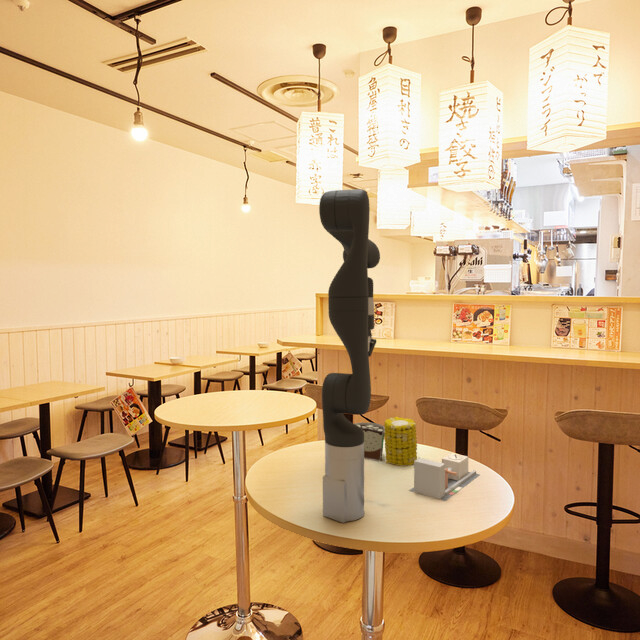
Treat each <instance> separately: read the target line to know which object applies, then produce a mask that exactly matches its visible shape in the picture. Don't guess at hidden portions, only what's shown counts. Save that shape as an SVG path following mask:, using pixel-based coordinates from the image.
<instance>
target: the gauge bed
mask: <svg viewBox="0 0 640 640" xmlns="http://www.w3.org/2000/svg"><path fill="white" fill-rule="evenodd" d="M413 469H414V470H413V486H414V487H412V488H410V489H408V491H409V492H413V493H416V494H418V495H422V496H427V497H429V498H433V499H437V500H440V501H444V502H446V501H448V499H450V498H452V497H453V496H455V495H456V494H457V493H459V491H461V490H462V489H464V488H465V487H467V486H468V485H469V484H470V483H471V482H473V481H475V479H477V478H478V477H480V476H481V474H480V473H477V470H474V469H473V470H472V471H468V474H467V475H466V476H465V477H463V478H462V479H460V480H459V481H457V480H453V479H449V478H448V488H447V489H445V464H444V463H442V462H440V461H434V460H430V459H426V458H421V457H419V458H417V460H415V461H414V464H413Z"/></svg>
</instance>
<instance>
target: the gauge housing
mask: <svg viewBox="0 0 640 640" xmlns="http://www.w3.org/2000/svg"><path fill="white" fill-rule="evenodd" d="M441 463H444V464H445V468H446V469H448V471H452V472H456V473H457V475H456V476H455V475H451V474H448V478H449V479H453V480H457V481H459V480H460V479H462V478H463V477H465V476H466V475H467V474H468V472H469V456H468V455H462V454H457V453H452V452H451V453H449V454H447V455H445V456H444V457H442V458H441Z"/></svg>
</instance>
